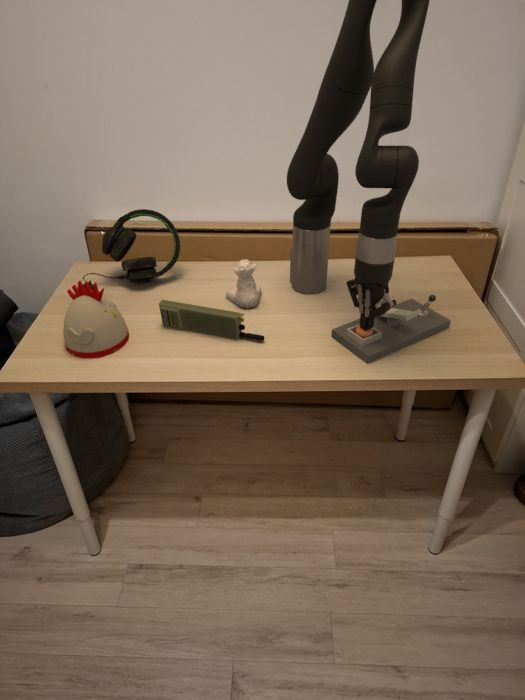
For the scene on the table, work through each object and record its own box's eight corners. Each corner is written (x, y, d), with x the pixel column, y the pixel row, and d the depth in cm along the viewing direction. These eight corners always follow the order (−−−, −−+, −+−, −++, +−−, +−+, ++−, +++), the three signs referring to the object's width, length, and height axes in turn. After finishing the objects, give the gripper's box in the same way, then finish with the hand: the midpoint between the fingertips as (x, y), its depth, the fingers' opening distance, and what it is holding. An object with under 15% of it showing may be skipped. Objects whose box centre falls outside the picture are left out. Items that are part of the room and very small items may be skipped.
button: (351, 334, 106) (352, 327, 104) (364, 329, 107) (365, 322, 106) (362, 342, 103) (363, 334, 102) (375, 337, 105) (376, 329, 104)
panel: (331, 336, 109) (332, 323, 107) (410, 305, 119) (412, 292, 117) (367, 363, 101) (369, 350, 99) (448, 327, 111) (452, 314, 109)
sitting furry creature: (260, 291, 126) (259, 248, 119) (269, 307, 120) (269, 263, 113) (225, 296, 125) (222, 253, 117) (232, 313, 118) (229, 268, 111)
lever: (417, 309, 113) (429, 294, 108) (422, 307, 113) (434, 292, 109) (421, 314, 112) (433, 299, 107) (426, 312, 113) (438, 297, 108)
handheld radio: (168, 321, 116) (266, 338, 109) (161, 328, 113) (261, 347, 107) (163, 297, 112) (265, 314, 105) (156, 304, 109) (261, 322, 103)
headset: (110, 313, 135) (193, 252, 134) (100, 319, 121) (192, 251, 121) (67, 260, 131) (153, 197, 130) (52, 261, 117) (148, 190, 117)
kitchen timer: (114, 361, 103) (99, 300, 94) (54, 356, 105) (34, 295, 96) (138, 325, 114) (126, 268, 105) (83, 321, 116) (67, 264, 107)
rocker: (374, 314, 111) (373, 310, 111) (384, 310, 113) (384, 306, 112) (406, 320, 103) (406, 316, 102) (417, 316, 104) (416, 311, 104)
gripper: (414, 261, 91) (400, 337, 101) (366, 238, 100) (358, 310, 110) (385, 271, 88) (374, 348, 98) (338, 247, 97) (332, 320, 107)
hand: (365, 328), depth 104 cm, fingers closed
